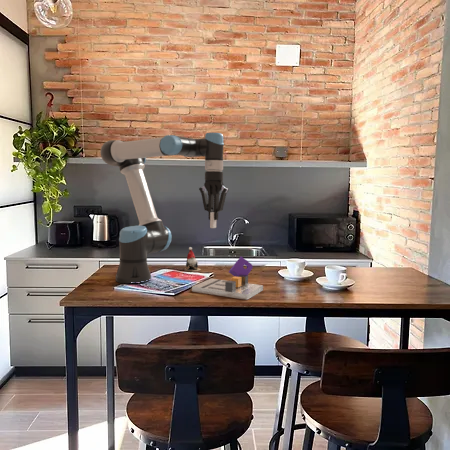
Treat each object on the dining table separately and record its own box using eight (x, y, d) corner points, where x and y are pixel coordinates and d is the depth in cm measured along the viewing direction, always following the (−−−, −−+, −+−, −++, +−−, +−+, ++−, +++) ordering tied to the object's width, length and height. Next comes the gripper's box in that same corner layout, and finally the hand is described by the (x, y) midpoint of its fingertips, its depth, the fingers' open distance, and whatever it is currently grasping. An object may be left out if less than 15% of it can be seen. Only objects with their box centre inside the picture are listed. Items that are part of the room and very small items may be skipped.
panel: (192, 291, 170) (192, 277, 170) (211, 283, 184) (211, 270, 184) (247, 299, 160) (247, 285, 159) (263, 290, 174) (263, 276, 173)
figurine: (198, 265, 203) (183, 247, 208) (188, 279, 207) (173, 261, 212) (209, 262, 210) (194, 245, 214) (198, 276, 214) (184, 259, 219)
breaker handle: (231, 286, 169) (231, 277, 169) (234, 284, 172) (234, 276, 172) (238, 287, 168) (238, 278, 168) (241, 285, 171) (241, 277, 170)
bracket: (244, 279, 177) (254, 265, 179) (231, 269, 177) (240, 256, 179) (240, 281, 189) (249, 268, 190) (228, 271, 189) (237, 259, 190)
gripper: (195, 170, 176) (195, 227, 178) (224, 170, 170) (223, 229, 173) (204, 171, 182) (204, 226, 185) (232, 171, 177) (231, 227, 179)
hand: (213, 227), depth 179 cm, fingers closed
